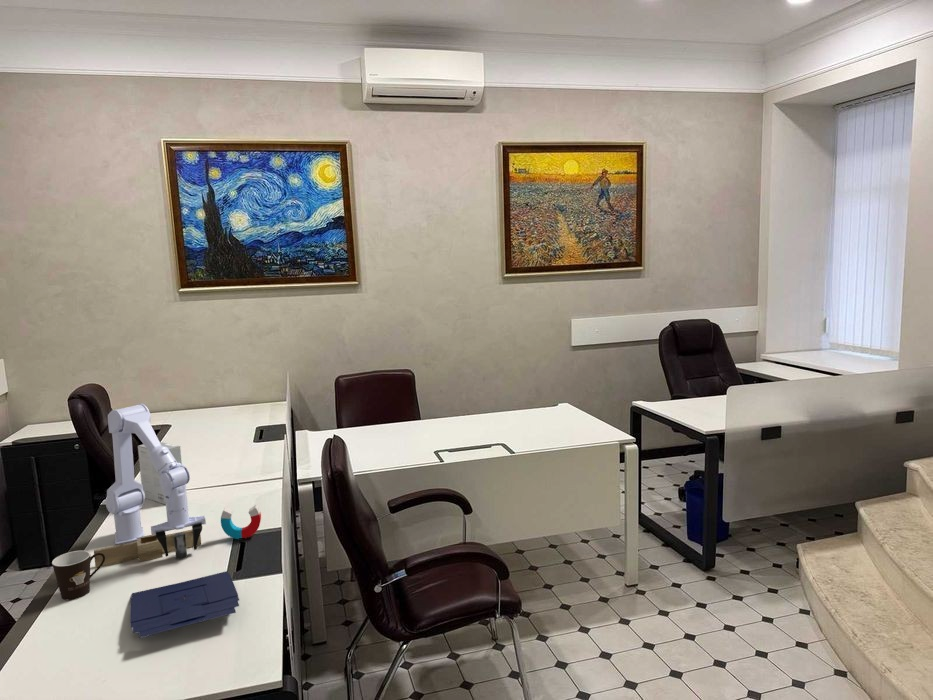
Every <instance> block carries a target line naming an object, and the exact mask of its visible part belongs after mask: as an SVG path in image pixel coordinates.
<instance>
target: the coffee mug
mask: <svg viewBox="0 0 933 700" xmlns="http://www.w3.org/2000/svg"><path fill="white" fill-rule="evenodd" d="M97 555H101V556H102V557H103V560H102V562H101V564H100V565H99V567H98V568H95V570H94V571H92V573H91V563H92V560H93V559H95V558H94V557H95V556H97ZM104 561H105V556H104V554H102V553H96V554H94V553H93V555H91V552H90V551H88V550H74V551H69V552H66V553H63V554H60V555H58V556H56V557H55V558H54V559H52V562H51V565H52V569H53V572H54V575H55V576H54V577H55V580H56V583H57V586H58V590H59V594H60V597H61V599H62V600H65V601H72V600H78V599H80V598H83V597H85V596H86V595H88V594H89V593H90V590H91V588H90V587H91V585H90V583H91V578H92V577H93V576H94V575H95V574H96V573H97V572H98V571H99V570H100V569H101V568H102V567H101V566H102V565H103V563H104Z"/></svg>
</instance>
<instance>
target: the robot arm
mask: <svg viewBox="0 0 933 700" xmlns="http://www.w3.org/2000/svg"><path fill="white" fill-rule="evenodd" d="M151 420H152V415H151V412H150V410H149V408H148V407H147V406H146V404H144V403H139V404H137V405H131V406H127V407H122V408H117V409H112V410H111V411H110V412H109V413H108V414H107V424H108V433H109V434H111V436H112V447H113V448H112V449H113V450H112V451H113V463H114V475H115V481H114V483H112V484H111V486H110V487H109V488H107V489H106V499H105V506H106V510H107V511H108V513H110V514H112V515H113V519H114V527H115V528H114V529H115V531H114V544H115V545H120V544H125V543H130V542H135V541H137V538H138V537H143V536H145V534H144V527H143V526H142V521H141V520H142V519H141V518H142V517H141V509H142V507H143V505H144V504H145V500H146V498H145V493H144V491H143V487H142V484H141V481H139V480H136V479H135V470H134V454H133V440H132V439H133V438H132V434H135V435H136V436H137V437H138V439H139V440H140V441H141V442H142V445H143V444H144V445H145V447H146V448H147V449H148V450H149V452H150V455H149V459H150V461H151V463H152V464H153V466H154V467H155V469H156V470H157V472H158V474H159V475H160V479H159V483H160V486H161V487H162V491H163V495H165V500H166V505H165V508H166V509H165V510H166V521H165V522H162V523H159V524H156V525H152V526H150V531H151V533H150V535H155V534H156V538H157V539H158V541H159V542H160V544H161V545H162V547H163V549H164V551H165V553H164V554H165V557H169V552H168V550H167V543H166V535H167V534H166V532H170V531H174V530H175V531H176V530H177V531H179V530H183V529H185V528H188V527H189V528H190V527H191V530H192V531H193V550H194V551H197V549H198V548H197V547H198V546H197V543H198V539H199V536H200V535H201V533H202V530H203V525H207V524H206V523H207V522H206V520H207V519H206V516H205V515H201V516H192V517H191V516H190V517H189V515H190V514H189V506H188V495H187V494H188V492H187V484H189V482H190V479H191V478H190V472H189V470H188V468H187V467H186V465H183V464H182V465H181V463H177V461H176V460H175V458H174V457H173V455H172V454H171V452H170V451H169V449H168V448H167V447H164V446H161V444H160V442H161V441H160V440H159V438H158V436H157V435H156V432H155V430H154V428H153V427H152V425H151Z"/></svg>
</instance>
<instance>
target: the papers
mask: <svg viewBox="0 0 933 700" xmlns="http://www.w3.org/2000/svg"><path fill="white" fill-rule="evenodd" d="M239 601H240V598H239V593H238V591H237V588H236V586H235V584H234V581H233V578H232V576H231V574H230V573H229V572H228V570H226V571H222V572H218V573H214V574H211V575H206V576H202V577H198V578H194V579H190V580H186V581H182V582H178V583H172V584H167V585H162V586H159V587H154V588H150V589H144V590H142V591H141V590H140V591H137V592H132V593H131V597H130V609H129V611H130V614H129V615H130V617H129V621H130V622H129V623H130V629H132V634H136V633H138V638H139V639H141V638H144V637H149V636H152V635H155V634H159V633H163V632H166V631H171V630H174V629H177V628H182V627H186V626H189V625H193V624H196V623H200V622H201V623H202V622H205V621H208V620H212V619H217V618H221V617H224V616H229V615H232V614H236V613H237V612H236V609H235V608H237V607H240V603H239Z"/></svg>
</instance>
